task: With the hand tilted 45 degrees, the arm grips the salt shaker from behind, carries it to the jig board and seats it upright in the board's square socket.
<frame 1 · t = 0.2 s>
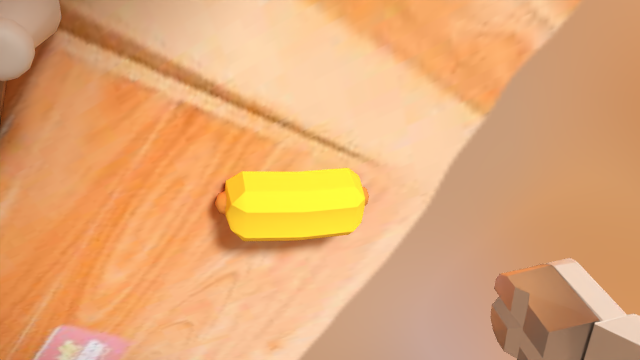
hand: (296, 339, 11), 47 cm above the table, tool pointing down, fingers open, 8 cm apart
salt shaker: (28, 0, 49), on the table
yellow faceted rounded part: (291, 190, 67), on the table
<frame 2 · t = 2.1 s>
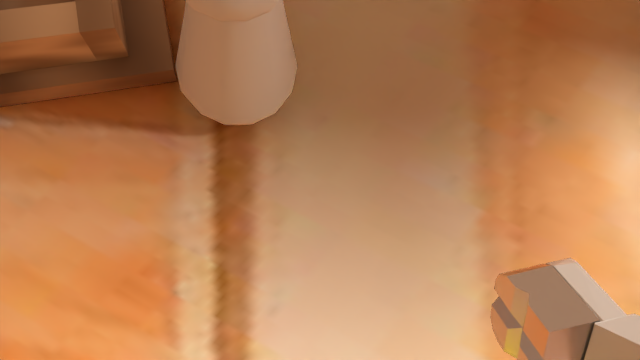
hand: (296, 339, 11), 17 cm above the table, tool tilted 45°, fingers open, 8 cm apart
salt shaker: (238, 86, 30), on the table
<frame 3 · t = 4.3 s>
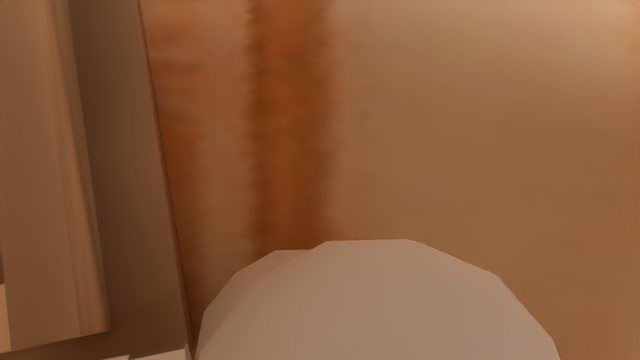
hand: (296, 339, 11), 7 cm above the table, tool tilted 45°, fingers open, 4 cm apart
salt shaker: (296, 348, 18), on the table, touching gripper
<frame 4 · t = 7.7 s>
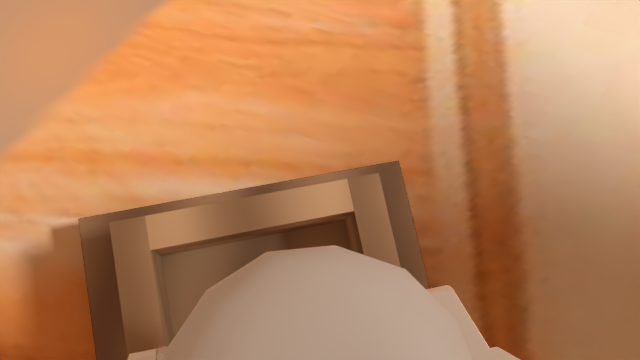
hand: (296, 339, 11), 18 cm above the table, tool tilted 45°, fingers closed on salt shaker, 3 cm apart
salt shaker: (280, 357, 19), point 9 cm above the table, touching gripper
jig board: (271, 329, 28), on the table
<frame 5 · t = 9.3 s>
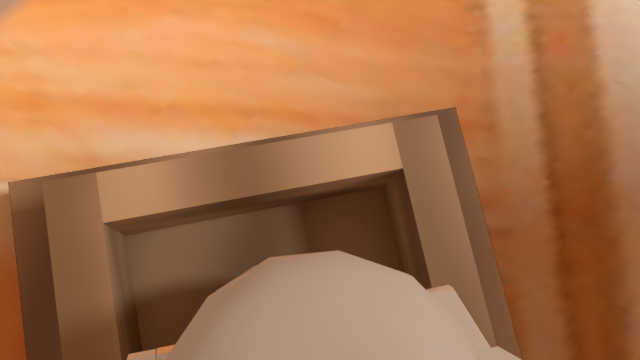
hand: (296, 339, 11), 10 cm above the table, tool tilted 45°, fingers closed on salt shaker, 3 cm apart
salt shaker: (282, 357, 19), point 1 cm above the table, touching gripper, jig board
jig board: (280, 339, 20), on the table
when the fingers open (9 cm above the table, at t = 9.8 s): salt shaker stays where it is, resting on jig board.
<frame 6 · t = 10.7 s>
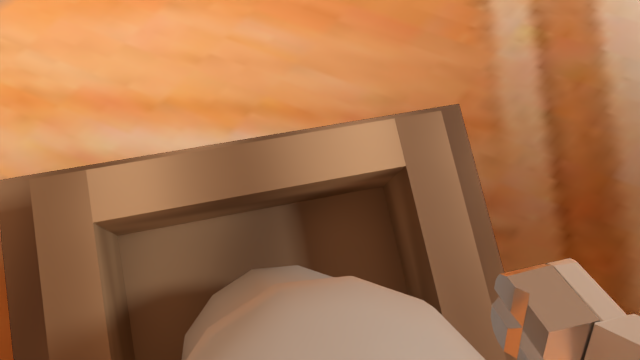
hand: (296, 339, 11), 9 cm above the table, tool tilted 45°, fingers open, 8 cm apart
jig board: (278, 343, 20), on the table
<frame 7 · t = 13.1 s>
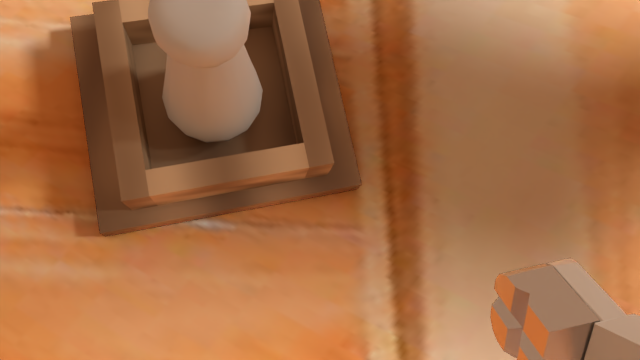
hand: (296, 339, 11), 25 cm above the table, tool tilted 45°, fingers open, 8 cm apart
salt shaker: (215, 109, 36), point 1 cm above the table, touching jig board
jig board: (217, 108, 37), on the table
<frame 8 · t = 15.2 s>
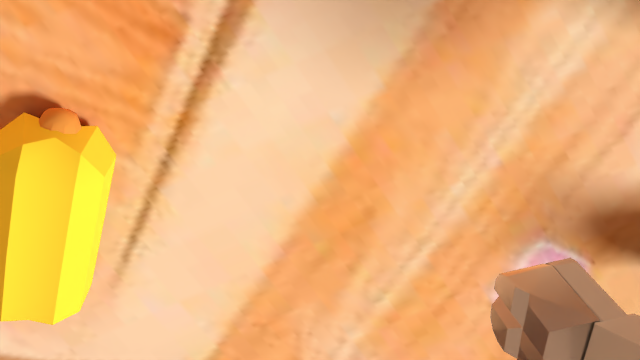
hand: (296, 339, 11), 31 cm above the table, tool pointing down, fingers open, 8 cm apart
yellow faceted rounded part: (51, 203, 43), on the table
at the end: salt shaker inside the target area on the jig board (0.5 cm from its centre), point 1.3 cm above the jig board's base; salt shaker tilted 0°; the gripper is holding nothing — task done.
